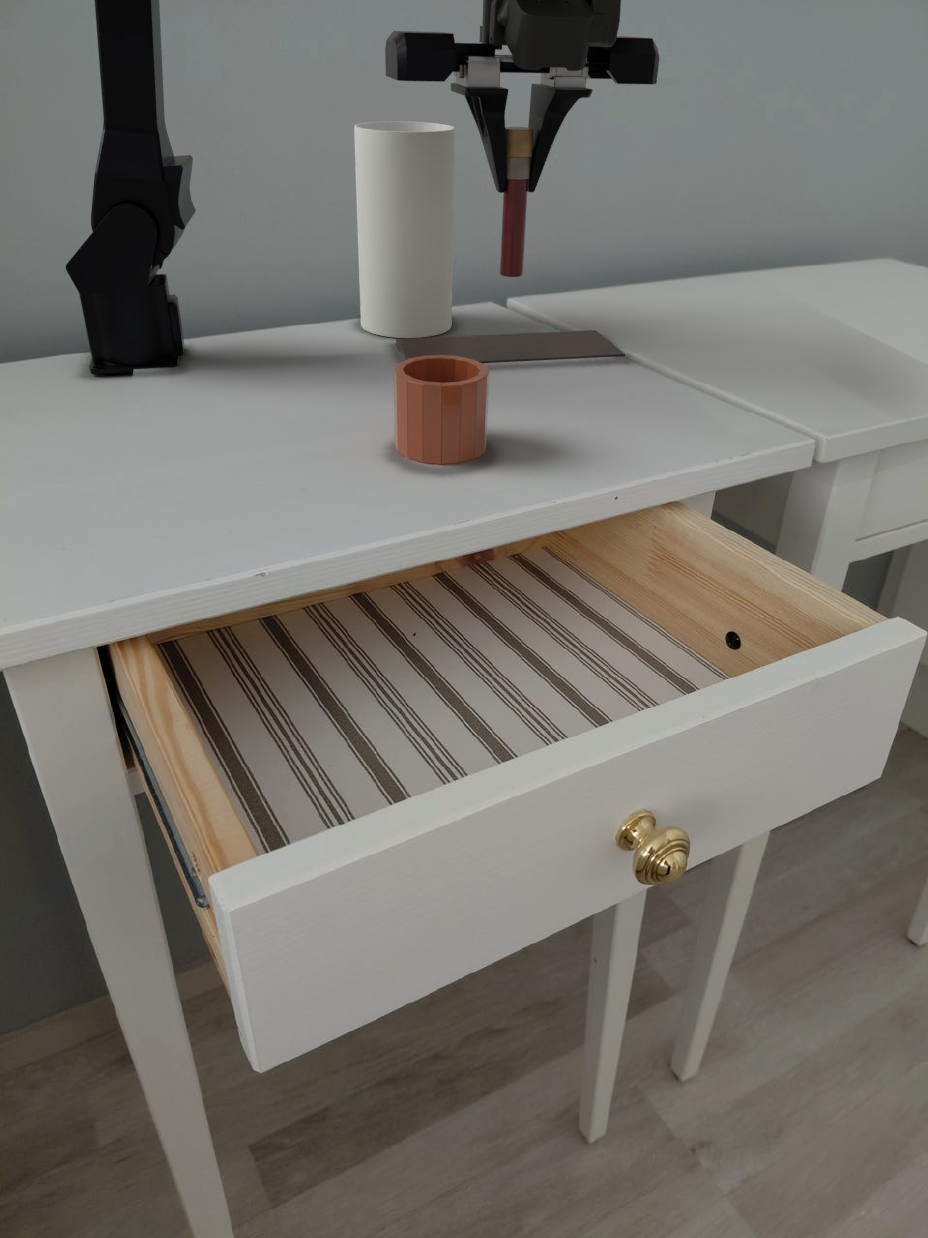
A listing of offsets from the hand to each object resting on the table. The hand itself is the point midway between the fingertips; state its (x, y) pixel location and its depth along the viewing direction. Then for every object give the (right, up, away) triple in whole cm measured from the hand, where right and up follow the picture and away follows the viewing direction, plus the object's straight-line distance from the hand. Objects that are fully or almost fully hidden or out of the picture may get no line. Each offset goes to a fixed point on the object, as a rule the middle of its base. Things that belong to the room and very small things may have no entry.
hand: (515, 191), depth 70 cm
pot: (-5, -22, -10) cm, 25 cm away
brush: (0, -5, +3) cm, 6 cm away
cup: (-9, -6, +14) cm, 18 cm away
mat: (0, -10, +8) cm, 13 cm away
